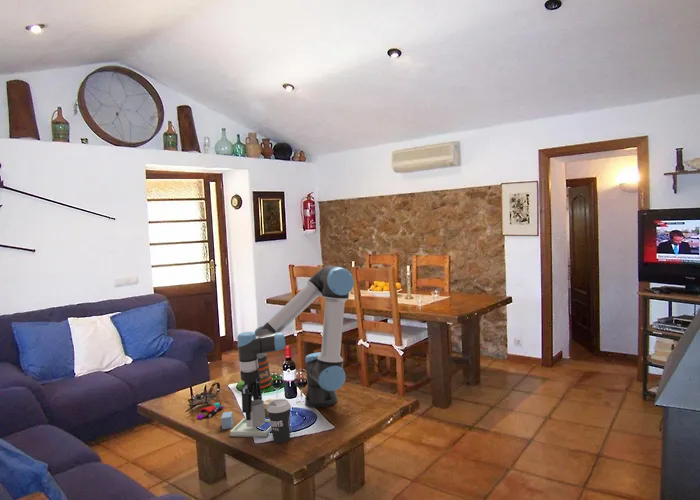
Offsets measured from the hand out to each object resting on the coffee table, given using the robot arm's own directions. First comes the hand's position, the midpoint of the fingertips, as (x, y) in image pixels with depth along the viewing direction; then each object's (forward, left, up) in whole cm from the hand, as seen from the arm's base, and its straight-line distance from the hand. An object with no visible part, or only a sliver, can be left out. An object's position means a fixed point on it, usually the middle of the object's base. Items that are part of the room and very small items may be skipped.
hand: (254, 422), depth 209 cm
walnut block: (0, -12, -3) cm, 12 cm away
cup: (0, -1, -1) cm, 1 cm away
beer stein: (+23, -52, -3) cm, 57 cm away
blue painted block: (+14, -3, -3) cm, 15 cm away
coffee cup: (-15, +8, -3) cm, 17 cm away
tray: (0, 0, -3) cm, 3 cm away
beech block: (+2, -21, -3) cm, 21 cm away
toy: (+29, -16, -4) cm, 33 cm away
